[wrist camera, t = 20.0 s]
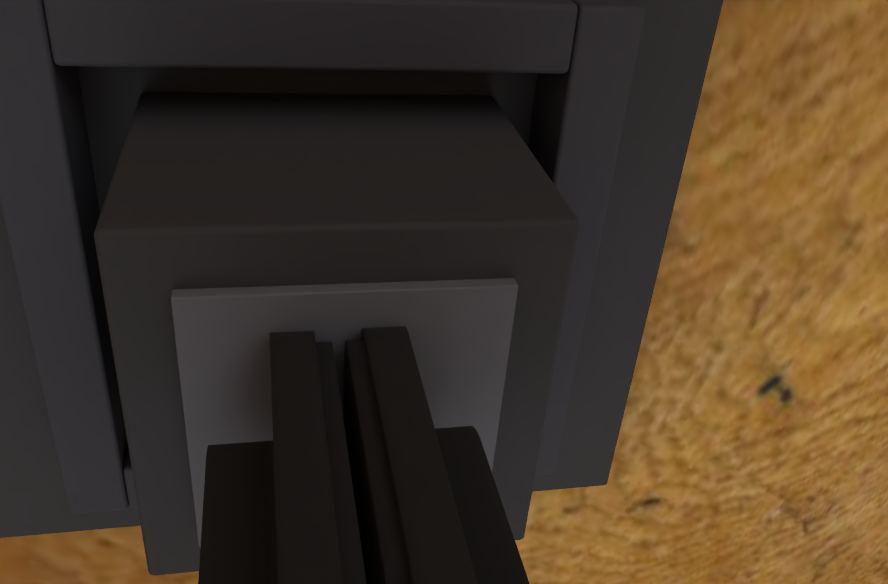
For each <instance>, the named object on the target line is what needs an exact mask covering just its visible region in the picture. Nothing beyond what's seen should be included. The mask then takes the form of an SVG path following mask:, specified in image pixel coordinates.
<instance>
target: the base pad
mask: <svg viewBox="0 0 888 584" xmlns="http://www.w3.org/2000/svg"><path fill="white" fill-rule="evenodd" d="M722 3H723V0H0V538H2V537H14V536H25V535H37V534H48V533H60V532H71V531H83V530H94V529H106V528H117V527H129V526H140V525H141V522H140V516H139V510H138V504H137V498H136V491H135V485H134V479H133V473H132V467H131V461H130V455H129V448H128V442H127V436H126V430H125V424H124V418H123V411H122V405H121V399H120V393H119V387H118V381H117V375H116V368H115V362H114V356H113V350H112V344H111V338H110V331H109V325H108V319H107V313H106V307H105V301H104V295H103V288H102V282H101V276H100V270H99V264H98V258H97V251H96V245H95V239H94V232H95V229H96V226H97V223H98V220H99V217H100V214H101V211H102V208H103V205H104V202H105V199H106V196H107V193H108V190H109V187H110V184H111V181H112V178H113V175H114V172H115V169H116V166H117V163H118V160H119V157H120V154H121V152H122V149H123V146H124V143H125V140H126V137H127V134H128V131H129V128H130V125H131V122H132V119H133V116H134V113H135V110H136V107H137V104H138V101H139V98H140V95H141V94H142V93H236V94H333V95H431V96H491V97H493V98H494V99H495V100H496V102H497V103H498V105H499V106H500V108H501V109H502V110H503V112H504V113H505V115H506V116H507V118H508V119H509V121H510V122H511V123H512V125H513V126H514V128H515V129H516V131H517V132H518V133H519V135H520V136H521V138H522V139H523V141H524V142H525V143H526V145H527V146H528V148H529V149H530V151H531V152H532V154H533V155H534V156H535V158H536V159H537V161H538V162H539V164H540V165H541V166H542V168H543V169H544V171H545V172H546V174H547V175H548V177H549V178H550V179H551V181H552V182H553V184H554V185H555V187H556V188H557V189H558V191H559V192H560V194H561V195H562V197H563V198H564V199H565V201H566V202H567V204H568V205H569V207H570V208H571V210H572V211H573V212H574V214H575V215H576V217H577V218H578V220H579V224H580V225H579V230H578V236H577V242H576V247H575V253H574V259H573V264H572V270H571V275H570V281H569V287H568V292H567V298H566V303H565V309H564V315H563V320H562V326H561V331H560V337H559V343H558V348H557V354H556V359H555V365H554V371H553V376H552V382H551V387H550V393H549V399H548V404H547V410H546V416H545V421H544V427H543V432H542V438H541V444H540V449H539V455H538V460H537V466H536V472H535V477H534V483H533V488H532V491H542V490H553V489H565V488H576V487H588V486H599V485H606V484H607V481H608V476H609V472H610V468H611V464H612V460H613V456H614V452H615V447H616V443H617V439H618V435H619V431H620V427H621V422H622V418H623V414H624V410H625V406H626V402H627V398H628V393H629V389H630V385H631V381H632V377H633V373H634V368H635V364H636V360H637V356H638V352H639V348H640V344H641V339H642V335H643V331H644V327H645V323H646V319H647V314H648V310H649V306H650V302H651V298H652V294H653V290H654V285H655V281H656V277H657V273H658V269H659V265H660V260H661V256H662V252H663V248H664V244H665V240H666V236H667V231H668V227H669V223H670V219H671V215H672V211H673V206H674V202H675V198H676V194H677V190H678V186H679V182H680V177H681V173H682V169H683V165H684V161H685V157H686V153H687V148H688V144H689V140H690V136H691V132H692V128H693V123H694V119H695V115H696V111H697V107H698V103H699V99H700V94H701V90H702V86H703V82H704V78H705V74H706V69H707V65H708V61H709V57H710V53H711V49H712V45H713V40H714V36H715V32H716V28H717V24H718V20H719V15H720V11H721V7H722Z"/></svg>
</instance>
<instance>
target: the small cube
mask: <svg viewBox="0 0 888 584" xmlns="http://www.w3.org/2000/svg"><path fill="white" fill-rule="evenodd" d="M579 225H580V224H579V220H578V218H577V217H576V215H575V214H574V212H573V211H572V210H571V208H570V207H569V205H568V204H567V202H566V201H565V199H564V198H563V197H562V195H561V194H560V192H559V191H558V189H557V188H556V187H555V185H554V184H553V182H552V181H551V179H550V178H549V177H548V175H547V174H546V172H545V171H544V169H543V168H542V166H541V165H540V164H539V162H538V161H537V159H536V158H535V156H534V155H533V154H532V152H531V151H530V149H529V148H528V146H527V145H526V143H525V142H524V141H523V139H522V138H521V136H520V135H519V133H518V132H517V131H516V129H515V128H514V126H513V125H512V123H511V122H510V121H509V119H508V118H507V116H506V115H505V113H504V112H503V110H502V109H501V108H500V106H499V105H498V103H497V102H496V100H495V99H494V98H493V97H491V96H431V95H333V94H236V93H142V94H141V95H140V98H139V101H138V104H137V107H136V110H135V113H134V116H133V119H132V122H131V125H130V128H129V131H128V134H127V137H126V140H125V143H124V146H123V149H122V152H121V154H120V157H119V160H118V163H117V166H116V169H115V172H114V175H113V178H112V181H111V184H110V187H109V190H108V193H107V196H106V199H105V202H104V205H103V208H102V211H101V214H100V217H99V220H98V223H97V226H96V229H95V232H94V239H95V245H96V251H97V258H98V264H99V270H100V276H101V282H102V288H103V295H104V301H105V307H106V313H107V319H108V325H109V331H110V338H111V344H112V350H113V356H114V362H115V368H116V375H117V381H118V387H119V393H120V399H121V405H122V411H123V418H124V424H125V430H126V436H127V442H128V448H129V455H130V461H131V467H132V473H133V479H134V485H135V491H136V498H137V504H138V510H139V516H140V522H141V528H142V534H143V541H144V547H145V553H146V559H147V565H148V570H149V573H150V574H151V575H164V574H174V573H184V572H194V571H199V564H200V548H201V532H202V515H203V499H204V483H205V466H206V453H207V447H208V445H218V444H231V443H245V442H259V441H272V440H273V423H272V394H271V366H270V337H269V333H272V332H293V331H314V334H315V342H329V341H332V344H333V350H334V357H335V364H336V371H337V378H338V385H339V392H340V399H341V406H342V413H343V420H344V354H345V341H347V340H361V330H362V328H375V327H396V326H405V327H407V330H408V333H409V336H410V340H411V344H412V347H413V351H414V355H415V358H416V362H417V366H418V369H419V373H420V376H421V380H422V384H423V387H424V391H425V395H426V398H427V402H428V405H429V409H430V413H431V416H432V420H433V424H434V427H435V428H449V427H462V426H473V427H474V428H475V429H476V430H477V432H478V434H479V437H480V439H481V442H482V445H483V448H484V451H485V454H486V457H487V460H488V463H489V466H490V469H491V472H492V475H493V478H494V481H495V484H496V486H497V489H498V492H499V495H500V498H501V501H502V504H503V507H504V510H505V513H506V516H507V519H508V522H509V525H510V528H511V531H512V534H513V537H514V540H520V539H522V538H523V537H524V533H525V528H526V522H527V516H528V511H529V505H530V500H531V494H532V488H533V483H534V477H535V472H536V466H537V460H538V455H539V449H540V444H541V438H542V432H543V427H544V421H545V416H546V410H547V404H548V399H549V393H550V387H551V382H552V376H553V371H554V365H555V359H556V354H557V348H558V343H559V337H560V331H561V326H562V320H563V315H564V309H565V303H566V298H567V292H568V287H569V281H570V275H571V270H572V264H573V259H574V253H575V247H576V242H577V236H578V230H579Z"/></svg>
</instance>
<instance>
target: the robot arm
mask: <svg viewBox="0 0 888 584" xmlns="http://www.w3.org/2000/svg"><path fill="white" fill-rule="evenodd" d="M269 337H270V366H271V394H272V423H273V440H272V441H259V442H245V443H231V444H218V445H208V447H207V453H206V466H205V483H204V499H203V515H202V532H201V548H200V564H199V581H198V584H529V581H528V578H527V575H526V572H525V569H524V566H523V563H522V560H521V558H520V555H519V552H518V549H517V546H516V543H515V540H514V537H513V534H512V531H511V528H510V525H509V522H508V519H507V516H506V513H505V510H504V507H503V504H502V501H501V498H500V495H499V492H498V489H497V486H496V484H495V481H494V478H493V475H492V472H491V469H490V466H489V463H488V460H487V457H486V454H485V451H484V448H483V445H482V442H481V439H480V437H479V434H478V432H477V430H476V429H475V428H474V427H473V426H462V427H449V428H435V427H434V424H433V420H432V416H431V413H430V409H429V405H428V402H427V398H426V395H425V391H424V387H423V384H422V380H421V376H420V373H419V369H418V366H417V362H416V358H415V355H414V351H413V347H412V344H411V340H410V336H409V333H408V330H407V327H405V326H396V327H375V328H362V330H361V340H347V341H345V354H344V420H343V413H342V406H341V399H340V392H339V385H338V378H337V371H336V364H335V357H334V350H333V344H332V341H329V342H315V334H314V331H293V332H272V333H269Z"/></svg>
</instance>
